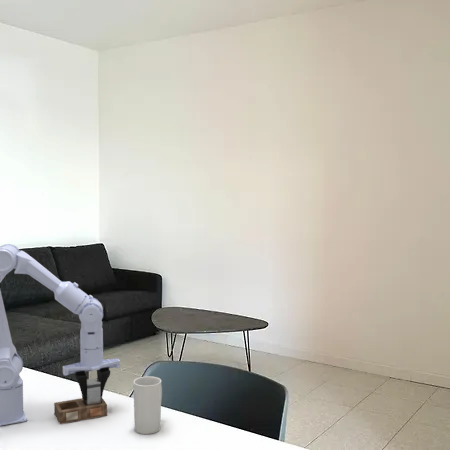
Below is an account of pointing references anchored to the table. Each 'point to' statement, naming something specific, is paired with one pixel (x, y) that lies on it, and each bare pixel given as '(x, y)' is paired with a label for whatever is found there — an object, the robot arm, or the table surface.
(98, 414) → the port block
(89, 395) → the plug
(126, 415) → the table surface
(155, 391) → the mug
